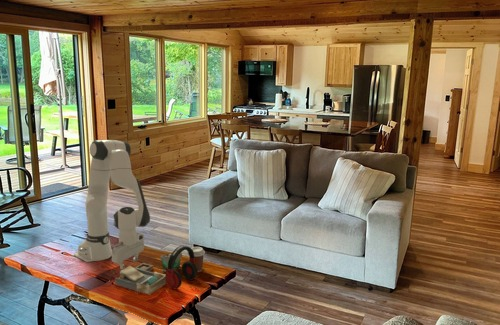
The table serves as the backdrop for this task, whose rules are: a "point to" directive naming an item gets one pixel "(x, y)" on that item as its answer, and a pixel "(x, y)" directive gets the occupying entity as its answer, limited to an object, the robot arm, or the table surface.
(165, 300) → the table surface
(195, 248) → the coffee cup
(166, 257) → the food container
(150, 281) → the ball
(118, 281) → the grey railed platform
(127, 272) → the ramp
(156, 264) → the table surface
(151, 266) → the brown square wooden tray
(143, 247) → the robot arm
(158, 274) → the tray
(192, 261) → the headphones
